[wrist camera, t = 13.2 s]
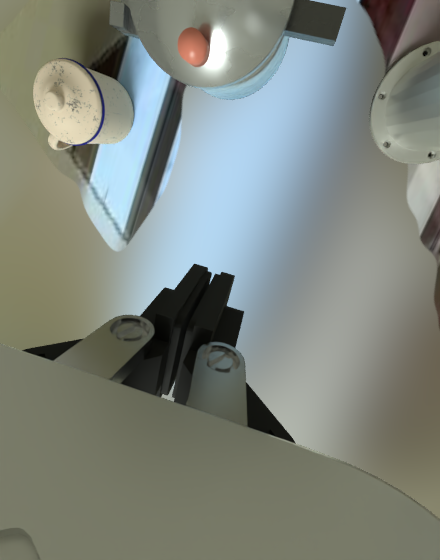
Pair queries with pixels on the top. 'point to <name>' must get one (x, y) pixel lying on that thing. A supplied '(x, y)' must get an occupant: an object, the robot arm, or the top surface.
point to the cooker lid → (210, 37)
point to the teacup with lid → (81, 105)
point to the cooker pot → (303, 25)
